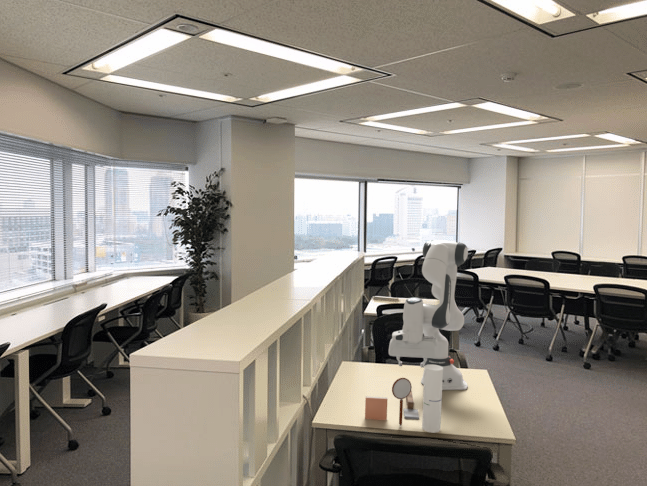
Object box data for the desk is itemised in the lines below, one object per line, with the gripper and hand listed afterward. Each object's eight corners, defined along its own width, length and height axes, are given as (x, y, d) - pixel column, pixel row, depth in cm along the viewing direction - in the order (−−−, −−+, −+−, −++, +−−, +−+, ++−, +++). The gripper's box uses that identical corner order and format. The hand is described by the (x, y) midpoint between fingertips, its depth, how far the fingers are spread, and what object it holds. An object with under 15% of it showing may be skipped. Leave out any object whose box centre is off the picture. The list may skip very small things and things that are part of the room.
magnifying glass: (391, 428, 198) (393, 379, 197) (389, 426, 200) (391, 378, 198) (411, 425, 201) (412, 377, 200) (408, 424, 203) (410, 376, 201)
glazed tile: (386, 418, 208) (387, 397, 207) (386, 420, 206) (387, 399, 206) (365, 417, 209) (365, 396, 208) (364, 418, 207) (365, 397, 206)
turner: (401, 398, 230) (402, 389, 230) (415, 399, 230) (415, 390, 229) (404, 418, 208) (404, 409, 208) (419, 419, 208) (419, 410, 207)
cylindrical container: (439, 433, 195) (441, 371, 193) (420, 430, 197) (423, 368, 195) (441, 426, 201) (443, 365, 200) (423, 423, 204) (426, 363, 202)
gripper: (435, 334, 219) (434, 365, 220) (389, 332, 221) (387, 363, 222) (437, 338, 213) (436, 370, 214) (389, 336, 215) (388, 367, 216)
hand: (411, 366), depth 218 cm, fingers open, 8 cm apart
